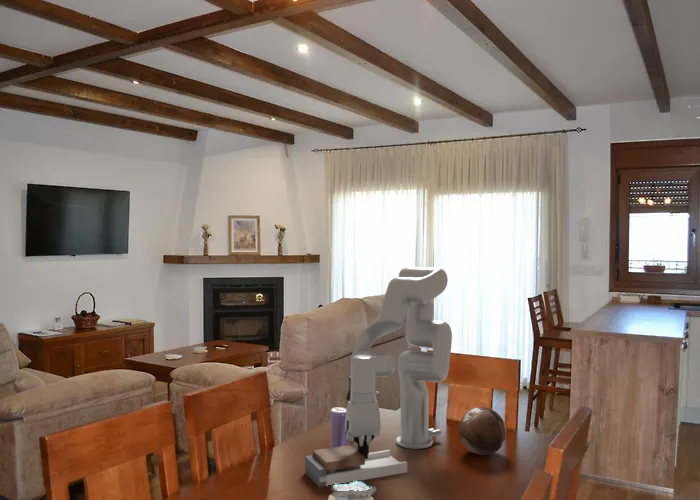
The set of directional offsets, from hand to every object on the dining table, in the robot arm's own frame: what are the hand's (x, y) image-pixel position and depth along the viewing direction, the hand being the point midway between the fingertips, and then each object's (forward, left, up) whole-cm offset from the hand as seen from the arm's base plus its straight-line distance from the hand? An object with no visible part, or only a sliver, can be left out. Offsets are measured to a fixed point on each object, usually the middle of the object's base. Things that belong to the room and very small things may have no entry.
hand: (363, 457), depth 188 cm
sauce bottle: (-14, -37, -4) cm, 40 cm away
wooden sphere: (-42, +2, -4) cm, 42 cm away
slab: (+8, 0, -2) cm, 8 cm away
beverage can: (+1, -15, -4) cm, 16 cm away
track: (+2, 0, -4) cm, 5 cm away
